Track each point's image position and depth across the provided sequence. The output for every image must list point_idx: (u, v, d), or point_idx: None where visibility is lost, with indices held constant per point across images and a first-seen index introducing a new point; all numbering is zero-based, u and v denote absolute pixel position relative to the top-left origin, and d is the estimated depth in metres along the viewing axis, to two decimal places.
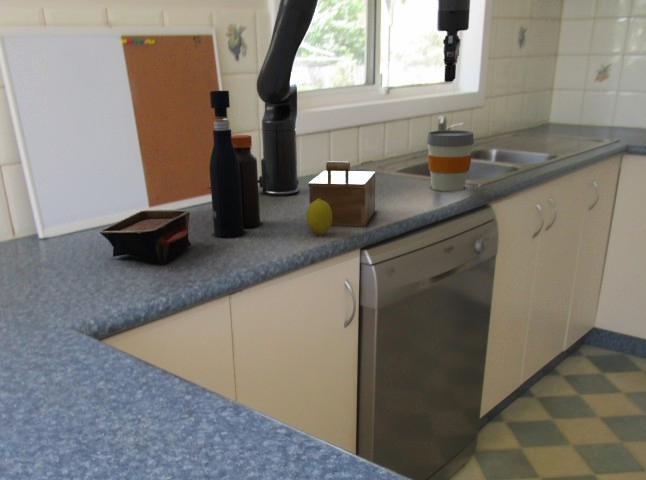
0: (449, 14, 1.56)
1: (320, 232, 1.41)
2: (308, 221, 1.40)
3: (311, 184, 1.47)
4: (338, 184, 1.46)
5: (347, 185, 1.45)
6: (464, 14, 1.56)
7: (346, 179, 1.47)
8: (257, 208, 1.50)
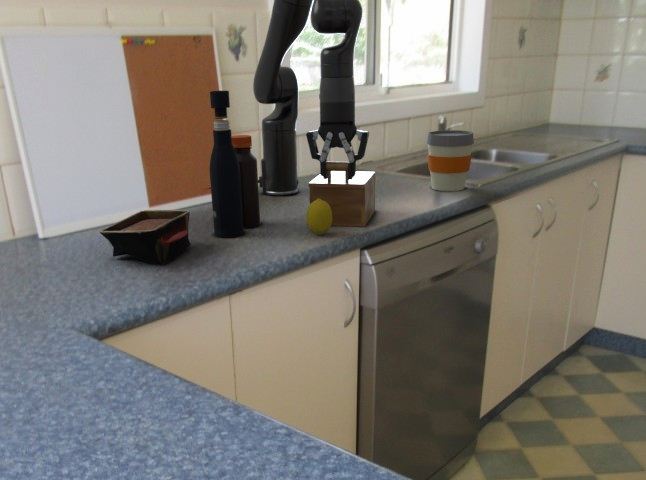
0: None
1: (320, 232, 1.41)
2: (308, 221, 1.40)
3: (311, 184, 1.47)
4: (338, 184, 1.46)
5: (347, 185, 1.45)
6: (322, 106, 1.40)
7: (346, 179, 1.47)
8: (257, 208, 1.50)
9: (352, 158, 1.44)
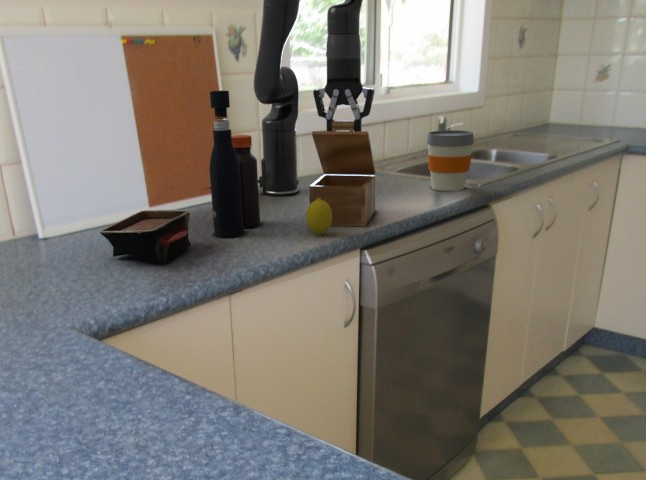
0: None
1: (320, 232, 1.41)
2: (308, 221, 1.40)
3: (315, 132, 1.47)
4: (342, 132, 1.46)
5: (351, 132, 1.45)
6: (329, 63, 1.44)
7: None
8: (257, 208, 1.50)
9: (358, 115, 1.47)
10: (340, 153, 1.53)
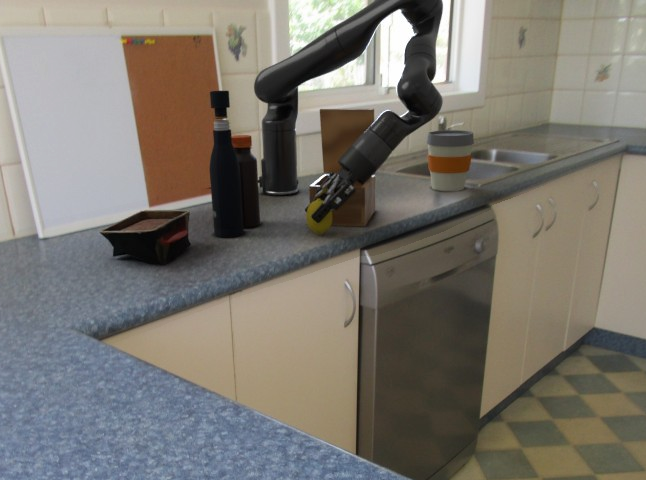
0: None
1: (320, 232, 1.41)
2: (308, 221, 1.40)
3: (323, 109, 1.53)
4: None
5: (357, 109, 1.51)
6: None
7: None
8: (257, 208, 1.50)
9: (326, 200, 1.36)
10: (343, 140, 1.55)
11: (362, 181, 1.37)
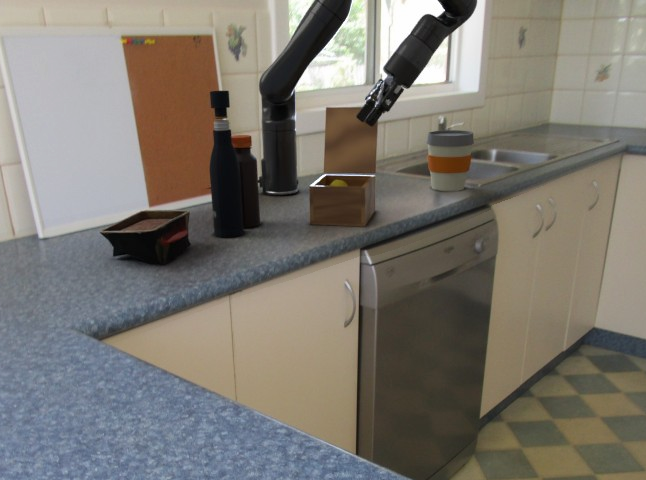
0: None
1: None
2: None
3: None
4: None
5: None
6: None
7: None
8: (257, 208, 1.50)
9: (377, 103, 1.45)
10: (346, 138, 1.59)
11: (407, 84, 1.46)
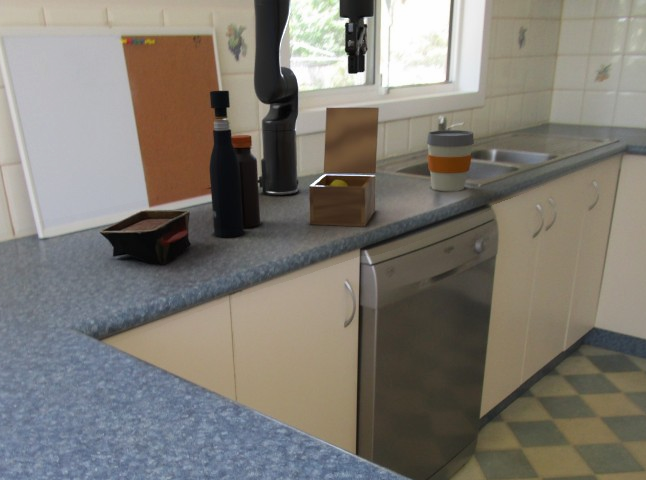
0: None
1: None
2: None
3: None
4: None
5: None
6: None
7: None
8: (257, 208, 1.50)
9: None
10: (347, 138, 1.59)
11: (364, 14, 1.43)
